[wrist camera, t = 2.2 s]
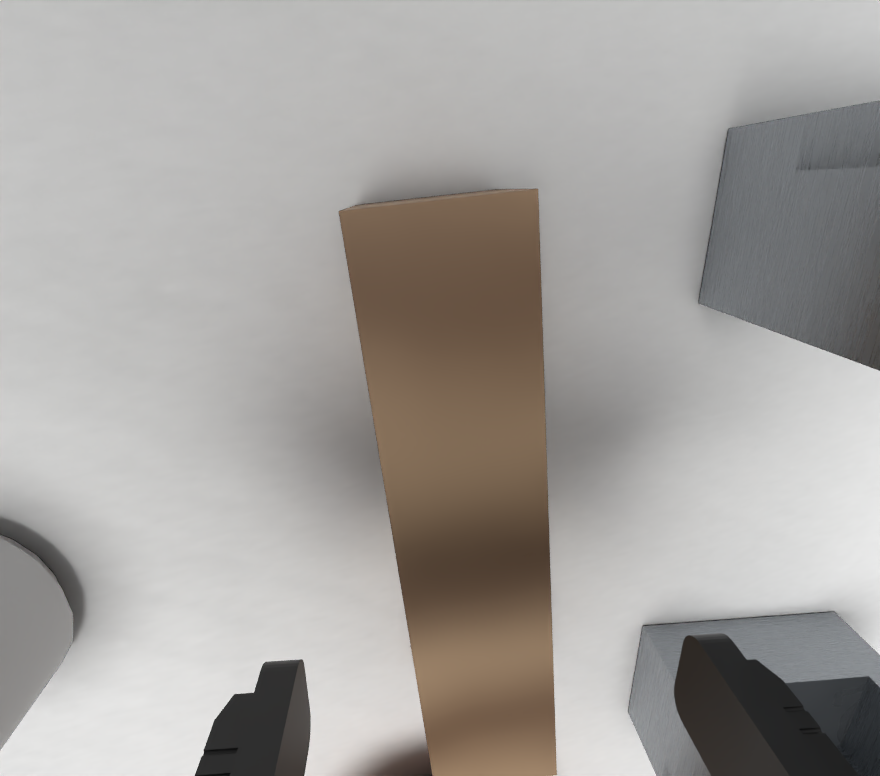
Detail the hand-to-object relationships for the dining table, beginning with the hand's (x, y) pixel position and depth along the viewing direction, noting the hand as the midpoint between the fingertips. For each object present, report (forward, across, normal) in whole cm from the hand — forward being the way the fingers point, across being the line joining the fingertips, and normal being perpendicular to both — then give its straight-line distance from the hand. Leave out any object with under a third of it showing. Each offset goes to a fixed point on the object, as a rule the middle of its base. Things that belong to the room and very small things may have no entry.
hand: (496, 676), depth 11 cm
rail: (+8, 0, 0) cm, 8 cm away
